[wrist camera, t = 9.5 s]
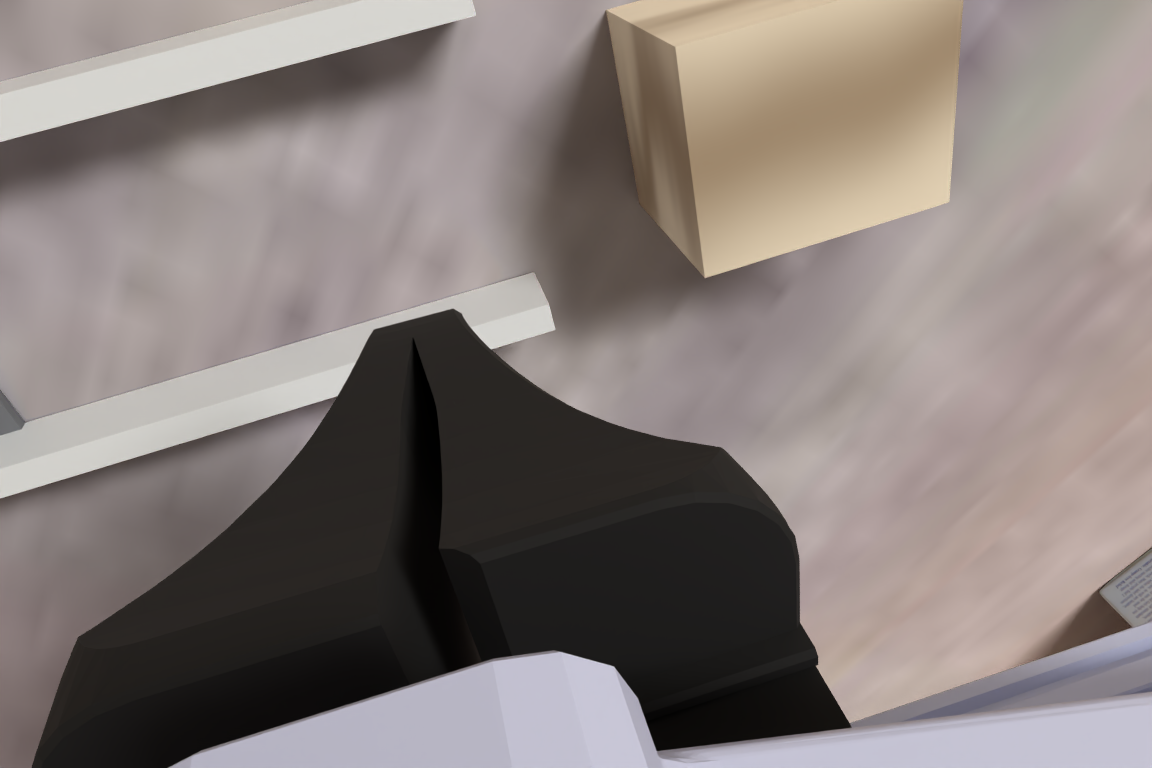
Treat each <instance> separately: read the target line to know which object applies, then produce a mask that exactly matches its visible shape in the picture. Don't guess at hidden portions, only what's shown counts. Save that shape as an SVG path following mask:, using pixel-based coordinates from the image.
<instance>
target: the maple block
mask: <svg viewBox="0 0 1152 768" xmlns="http://www.w3.org/2000/svg"><path fill="white" fill-rule="evenodd" d="M962 10H963V0H640V1H636V2H633V3H629V4H626V5H622V6H619V7H615V8H611V9H608V10H606V12H607V18H608V24H609V30H610V36H611V42H612V47H613V53H614V59H615V65H616V71H617V76H618V82H619V88H620V94H621V100H622V106H623V111H624V117H625V123H626V129H627V135H628V141H629V146H630V152H631V158H632V164H633V170H634V176H635V181H636V187H637V193H638V199H639V204H640V205H641V206H642V207H643V208H644V210H645V211H646V212H647V213H648V214H649V215H650V216H651V217H652V219H653V220H654V221H655V222H656V223H657V224H658V225H659V227H660V228H661V229H662V230H663V231H664V232H665V233H666V234H667V236H668V237H669V238H670V239H671V240H672V241H673V242H674V244H675V245H676V246H677V247H678V248H679V249H680V250H681V252H682V253H683V254H684V255H685V256H686V257H687V258H688V259H689V261H690V262H691V263H692V264H693V265H694V266H695V267H696V269H697V270H698V271H699V272H700V273H701V274H702V275H703V277H704V278H707V277H710V276H714V275H717V274H720V273H723V272H726V271H730V270H733V269H736V268H739V267H742V266H746V265H749V264H752V263H755V262H759V261H762V260H765V259H768V258H771V257H775V256H778V255H781V254H784V253H788V252H791V251H794V250H797V249H800V248H804V247H807V246H810V245H813V244H817V243H820V242H823V241H826V240H829V239H833V238H836V237H839V236H842V235H846V234H849V233H852V232H855V231H858V230H862V229H865V228H868V227H871V226H875V225H878V224H881V223H884V222H887V221H891V220H894V219H897V218H900V217H903V216H907V215H910V214H913V213H916V212H920V211H923V210H926V209H929V208H932V207H936V206H939V205H942V204H945V203H949V196H950V182H951V167H952V153H953V139H954V125H955V110H956V96H957V82H958V67H959V53H960V39H961V24H962Z"/></svg>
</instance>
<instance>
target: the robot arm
mask: <svg viewBox="0 0 1152 768" xmlns="http://www.w3.org/2000/svg"><path fill="white" fill-rule="evenodd" d="M816 665H818V655H817V652H816V649H815V647H814V645H813V643H812V642H811V640H810V638H809V637H808V635H807V634H806V632H805V630H804V629H803V627H802V625H801V624H800V571H799V554H798V549H797V544H796V539H795V535H794V534H793V532H792V531H791V529H790V528H789V526H788V524H787V522H786V520H785V519H784V517H783V516H782V514H781V513H780V511H779V510H778V508H777V507H776V505H775V504H774V503H773V502H772V500H771V499H770V498H769V496H768V495H767V494H766V493H765V492H764V491H763V489H762V488H761V487H760V486H759V485H758V484H757V483H756V482H755V481H754V480H753V479H752V477H751V476H750V475H749V474H748V473H747V472H746V471H745V470H744V469H743V468H742V467H741V466H740V465H739V464H738V463H737V462H736V461H735V460H734V459H733V458H732V457H731V456H730V455H729V454H728V453H727V452H726V451H725V450H724V449H722V448H721V447H715V446H709V445H703V444H696V443H690V442H684V441H678V440H671V439H665V438H661V437H657V436H653V435H649V434H645V433H642V432H638V431H634V430H630V429H627V428H624V427H621V426H618V425H615V424H612V423H609V422H606V421H604V420H601V419H599V418H596V417H594V416H591V415H589V414H586V413H584V412H581V411H579V410H577V409H575V408H573V407H571V406H569V405H567V404H565V403H564V402H562V401H560V400H558V399H557V398H555V397H553V396H551V395H550V394H548V393H547V392H545V391H543V390H542V389H540V388H539V387H537V386H536V385H534V384H533V383H532V382H530V381H529V380H527V379H526V378H525V377H523V376H522V375H521V374H519V373H518V372H517V371H515V370H514V369H513V368H512V367H510V366H509V365H508V364H507V363H506V362H505V361H503V360H502V359H501V358H500V357H499V356H498V355H497V354H496V353H495V352H493V351H492V350H491V349H490V348H489V347H488V346H487V345H486V344H485V343H484V342H483V341H482V340H481V339H480V338H479V337H478V336H477V334H476V333H475V332H474V331H473V330H472V329H471V327H470V326H469V325H468V323H467V322H466V321H465V319H464V317H463V315H462V313H460V312H458V311H457V310H455V309H449V310H445V311H442V312H438V313H434V314H430V315H426V316H423V317H419V318H415V319H411V320H408V321H404V322H400V323H396V324H392V325H389V326H385V327H381V328H377V329H374V330H373V331H372V333H371V335H370V336H369V338H368V340H367V342H366V344H365V346H364V348H363V350H362V352H361V354H360V356H359V358H358V359H357V361H356V363H355V365H354V367H353V369H352V371H351V373H350V375H349V377H348V379H347V380H346V382H345V384H344V386H343V387H342V389H341V391H340V393H339V394H338V396H337V398H336V400H335V401H334V403H333V405H332V407H331V408H330V410H329V411H328V413H327V414H326V416H325V417H324V419H323V420H322V422H321V423H320V425H319V426H318V428H317V429H316V431H315V432H314V434H313V435H312V437H311V438H310V440H309V441H308V442H307V444H306V445H305V446H304V448H303V449H302V450H301V451H300V453H299V454H298V455H297V456H296V458H295V459H294V460H293V461H292V462H291V464H290V465H289V466H288V467H287V468H286V469H285V471H284V472H283V473H282V474H281V475H280V476H279V477H278V479H277V480H276V481H275V482H274V483H273V484H272V485H271V486H270V487H269V488H268V490H267V491H266V492H264V493H263V494H262V495H261V496H260V497H259V498H258V499H257V500H256V501H255V502H254V503H253V504H252V505H251V506H250V507H249V508H248V509H247V510H246V511H245V512H244V513H243V514H242V515H241V516H240V517H239V518H238V519H237V520H236V521H235V522H234V523H233V524H231V525H230V526H229V527H228V528H227V529H226V530H225V531H224V532H223V533H222V534H221V535H219V536H218V537H217V538H216V539H215V540H213V541H212V542H211V543H210V544H209V545H207V546H206V547H205V548H204V549H203V550H202V551H200V552H199V553H198V554H197V555H195V556H194V557H193V558H192V559H190V560H189V561H188V562H186V563H185V564H184V565H183V566H181V567H180V568H179V569H177V570H176V571H175V572H174V573H172V574H171V575H170V576H168V577H167V578H166V579H164V580H163V581H161V582H160V583H159V584H157V585H156V586H155V587H153V588H152V589H150V590H149V591H147V592H146V593H144V594H143V595H141V596H140V597H139V598H137V599H136V600H134V601H133V602H131V603H130V604H128V605H127V606H125V607H124V608H122V609H121V610H119V611H118V612H116V613H115V614H113V615H112V616H110V617H109V618H107V619H106V620H104V621H103V622H101V623H100V624H98V625H97V626H95V627H94V628H92V629H91V630H89V631H87V632H86V633H84V634H82V635H81V636H79V637H78V639H77V641H76V644H75V646H74V648H73V651H72V653H71V656H70V658H69V661H68V663H67V666H66V668H65V671H64V673H63V676H62V678H61V681H60V684H59V687H58V690H57V693H56V696H55V699H54V702H53V705H52V708H51V711H50V713H49V716H48V719H47V722H46V725H45V728H44V731H43V734H42V737H41V740H40V743H39V746H38V749H37V752H36V755H35V758H34V762H33V765H32V768H1152V621H1150V622H1147V623H1144V624H1141V625H1138V626H1135V627H1132V628H1129V629H1126V630H1123V631H1120V632H1117V633H1114V634H1112V635H1109V636H1106V637H1103V638H1100V639H1097V640H1094V641H1091V642H1088V643H1085V644H1082V645H1079V646H1076V647H1073V648H1070V649H1067V650H1064V651H1061V652H1058V653H1056V654H1053V655H1050V656H1047V657H1044V658H1041V659H1038V660H1035V661H1032V662H1029V663H1026V664H1023V665H1020V666H1017V667H1014V668H1011V669H1008V670H1005V671H1003V672H1000V673H997V674H994V675H991V676H988V677H985V678H982V679H979V680H976V681H973V682H970V683H967V684H964V685H961V686H958V687H955V688H952V689H949V690H947V691H944V692H941V693H938V694H935V695H932V696H929V697H926V698H923V699H920V700H917V701H914V702H911V703H908V704H905V705H902V706H899V707H896V708H894V709H891V710H888V711H885V712H882V713H879V714H876V715H873V716H870V717H867V718H864V719H861V720H858V721H855V722H852V723H849V722H848V720H847V718H846V717H845V715H844V713H843V712H842V710H841V708H840V706H839V705H838V703H837V701H836V700H835V698H834V696H833V695H832V693H831V691H830V690H829V688H828V686H827V684H826V683H825V681H824V679H823V678H822V676H821V674H820V673H819V671H818V669H817V668H816Z"/></svg>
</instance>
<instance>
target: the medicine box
mask: <svg viewBox="0 0 1152 768" xmlns="http://www.w3.org/2000/svg"><path fill="white" fill-rule="evenodd" d="M1100 595H1101V596H1102V597H1103V598H1104V599H1105V600H1106V601H1107V602H1108V603H1109V604H1110V605H1111V606H1112V607H1113V608H1114V609H1115V610H1116V611H1117V612H1118V613H1119V614H1120V615H1121V616H1122V617H1123V618H1124V619H1125V620H1126V621H1127V622H1128V623H1129V624H1130V625H1131V626H1132V627H1135V626H1138V625H1141V624H1144V623H1147V622H1150V621H1152V549H1150V550H1149V551H1147V552H1146V553H1145V554H1144V555H1142V556H1141V557H1140V558H1138V559H1137V560H1136V561H1134V562H1133V563H1132V564H1131V565H1129V566H1128V567H1127V568H1126V569H1124V570H1123V571H1122V572H1120V573H1119V574H1118V575H1117V576H1115V577H1114V578H1113V579H1112V580H1110V581H1109V582H1108V583H1107V584H1106V585H1105V586H1104V587H1103V588H1102V589H1101V590H1100Z"/></svg>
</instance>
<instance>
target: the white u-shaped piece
mask: <svg viewBox="0 0 1152 768" xmlns="http://www.w3.org/2000/svg"><path fill="white" fill-rule="evenodd" d="M472 16H476V13H475V9H474V5H473V1H472V0H313V1H309V2H306V3H302V4H298V5H294V6H290V7H286V8H282V9H279V10H275V11H271V12H267V13H263V14H259V15H255V16H252V17H248V18H244V19H240V20H236V21H232V22H228V23H224V24H221V25H217V26H213V27H209V28H205V29H201V30H197V31H194V32H190V33H186V34H182V35H178V36H174V37H170V38H167V39H163V40H159V41H155V42H151V43H147V44H143V45H140V46H136V47H132V48H128V49H124V50H120V51H116V52H113V53H109V54H105V55H101V56H97V57H93V58H89V59H86V60H82V61H78V62H74V63H70V64H66V65H62V66H59V67H55V68H51V69H47V70H43V71H39V72H35V73H32V74H28V75H24V76H20V77H16V78H12V79H8V80H5V81H1V82H0V142H2V141H6V140H9V139H13V138H17V137H21V136H25V135H28V134H32V133H36V132H40V131H43V130H47V129H51V128H55V127H58V126H62V125H66V124H70V123H73V122H77V121H81V120H85V119H89V118H92V117H96V116H100V115H104V114H107V113H111V112H115V111H119V110H122V109H126V108H130V107H134V106H137V105H141V104H145V103H149V102H152V101H156V100H160V99H164V98H168V97H171V96H175V95H179V94H183V93H186V92H190V91H194V90H198V89H201V88H205V87H209V86H213V85H216V84H220V83H224V82H228V81H232V80H235V79H239V78H243V77H247V76H250V75H254V74H258V73H262V72H265V71H269V70H273V69H277V68H280V67H284V66H288V65H292V64H296V63H299V62H303V61H307V60H311V59H314V58H318V57H322V56H326V55H329V54H333V53H337V52H341V51H344V50H348V49H352V48H356V47H360V46H363V45H367V44H371V43H375V42H378V41H382V40H386V39H390V38H393V37H397V36H401V35H405V34H408V33H412V32H416V31H420V30H424V29H427V28H431V27H435V26H439V25H442V24H446V23H450V22H454V21H457V20H461V19H465V18H469V17H472ZM449 309H455V310H457V311H458V312H460V313H462V315H463V317H464V319H465V321H466V322H467V323H468V325H469V326H470V327H471V329H472V330H473V331H474V332H475V333H476V334H477V336H478V337H479V338H480V339H481V340H482V341H483V342H484V343H485V344H486V345H487V346H488V347H489V348H490V349H494V348H498V347H501V346H504V345H508V344H511V343H514V342H517V341H521V340H524V339H527V338H531V337H534V336H537V335H540V334H544V333H547V332H550V331H554V330H555V326H554V322H553V318H552V314H551V310H550V306H549V303H548V301H547V299H546V297H545V295H544V292H543V290H542V288H541V286H540V284H539V282H538V280H537V278H536V275H535V273H534V272H532V273H529V274H526V275H522V276H519V277H515V278H512V279H509V280H505V281H502V282H499V283H495V284H492V285H488V286H485V287H482V288H478V289H475V290H472V291H468V292H465V293H461V294H458V295H455V296H451V297H448V298H445V299H441V300H438V301H434V302H431V303H428V304H424V305H421V306H418V307H414V308H411V309H407V310H404V311H401V312H397V313H394V314H391V315H387V316H384V317H380V318H377V319H374V320H370V321H367V322H364V323H360V324H357V325H353V326H350V327H347V328H343V329H340V330H337V331H333V332H330V333H326V334H323V335H320V336H316V337H313V338H310V339H306V340H303V341H299V342H296V343H293V344H289V345H286V346H283V347H279V348H276V349H272V350H269V351H266V352H262V353H259V354H256V355H252V356H249V357H245V358H242V359H239V360H235V361H232V362H229V363H225V364H222V365H218V366H215V367H212V368H208V369H205V370H202V371H198V372H195V373H191V374H188V375H185V376H181V377H178V378H175V379H171V380H168V381H164V382H161V383H158V384H154V385H151V386H148V387H144V388H141V389H137V390H134V391H131V392H127V393H124V394H121V395H117V396H114V397H110V398H107V399H104V400H100V401H97V402H94V403H90V404H87V405H83V406H80V407H77V408H73V409H70V410H67V411H63V412H60V413H56V414H53V415H50V416H46V417H43V418H40V419H36V420H33V421H29V422H26V423H25V421H24V420H23V419H22V418H21V416H20V415H19V414H18V412H17V411H16V410H15V408H14V407H13V406H12V405H11V403H10V402H9V401H8V399H7V398H6V397H5V395H4V394H3V393H2V392H1V390H0V498H3V497H7V496H10V495H13V494H17V493H20V492H23V491H27V490H30V489H33V488H36V487H40V486H43V485H46V484H50V483H53V482H56V481H59V480H63V479H66V478H69V477H73V476H76V475H79V474H83V473H86V472H89V471H92V470H96V469H99V468H102V467H106V466H109V465H112V464H116V463H119V462H122V461H125V460H129V459H132V458H135V457H139V456H142V455H145V454H148V453H152V452H155V451H158V450H162V449H165V448H168V447H172V446H175V445H178V444H181V443H185V442H188V441H191V440H195V439H198V438H201V437H204V436H208V435H211V434H214V433H218V432H221V431H224V430H228V429H231V428H234V427H237V426H241V425H244V424H247V423H251V422H254V421H257V420H260V419H264V418H267V417H270V416H274V415H277V414H280V413H284V412H287V411H290V410H293V409H297V408H300V407H303V406H307V405H310V404H313V403H316V402H320V401H323V400H326V399H330V398H333V397H336V396H338V394H339V393H340V391H341V389H342V387H343V386H344V384H345V382H346V380H347V379H348V377H349V375H350V373H351V371H352V369H353V367H354V365H355V363H356V361H357V359H358V358H359V356H360V354H361V352H362V350H363V348H364V346H365V344H366V342H367V340H368V338H369V336H370V335H371V333H372V331H373V330H374V329H377V328H381V327H385V326H389V325H392V324H396V323H400V322H404V321H408V320H411V319H415V318H419V317H423V316H426V315H430V314H434V313H438V312H442V311H445V310H449Z"/></svg>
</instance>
